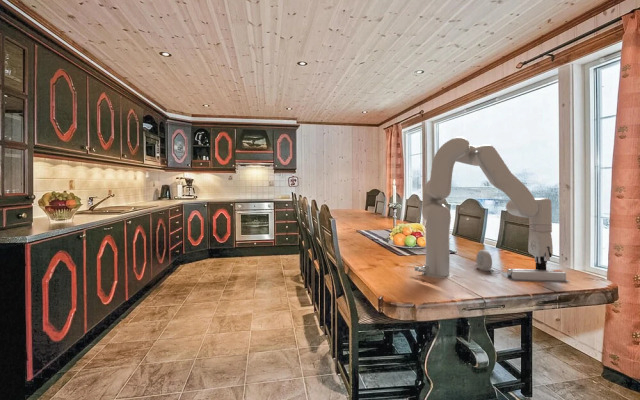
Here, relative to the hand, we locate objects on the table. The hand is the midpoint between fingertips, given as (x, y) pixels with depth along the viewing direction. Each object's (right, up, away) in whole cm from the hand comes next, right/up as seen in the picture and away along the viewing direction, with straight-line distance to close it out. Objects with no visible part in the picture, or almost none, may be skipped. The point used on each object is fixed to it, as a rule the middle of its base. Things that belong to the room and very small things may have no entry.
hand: (541, 272), depth 130 cm
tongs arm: (-4, -1, -2) cm, 5 cm away
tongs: (-4, -3, -1) cm, 5 cm away
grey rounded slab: (-17, -3, +12) cm, 21 cm away
